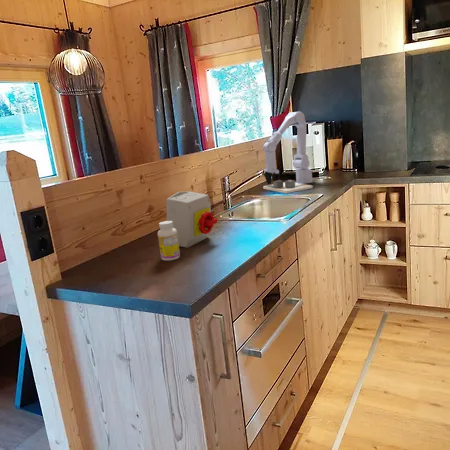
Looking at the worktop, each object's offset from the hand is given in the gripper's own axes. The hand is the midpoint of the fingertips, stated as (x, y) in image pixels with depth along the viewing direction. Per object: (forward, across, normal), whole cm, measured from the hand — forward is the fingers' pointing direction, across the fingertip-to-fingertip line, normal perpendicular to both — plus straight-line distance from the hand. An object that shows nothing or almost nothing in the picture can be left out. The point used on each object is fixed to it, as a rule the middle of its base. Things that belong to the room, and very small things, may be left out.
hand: (272, 184), depth 263 cm
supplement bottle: (+3, +87, -94) cm, 128 cm away
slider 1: (+1, +7, 0) cm, 7 cm away
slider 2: (+1, +13, +4) cm, 14 cm away
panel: (+3, +7, +6) cm, 10 cm away
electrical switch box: (+3, +75, -80) cm, 110 cm away
